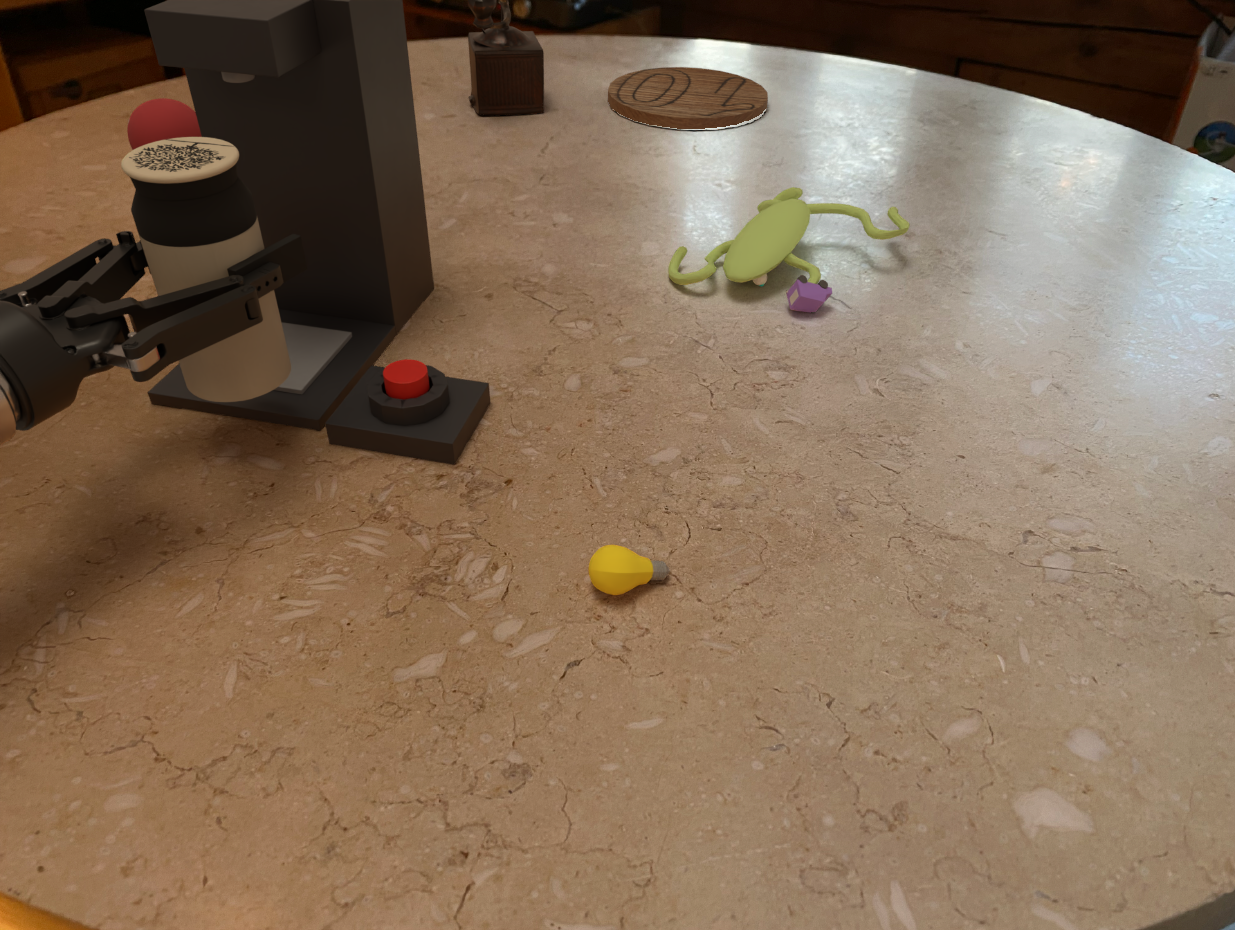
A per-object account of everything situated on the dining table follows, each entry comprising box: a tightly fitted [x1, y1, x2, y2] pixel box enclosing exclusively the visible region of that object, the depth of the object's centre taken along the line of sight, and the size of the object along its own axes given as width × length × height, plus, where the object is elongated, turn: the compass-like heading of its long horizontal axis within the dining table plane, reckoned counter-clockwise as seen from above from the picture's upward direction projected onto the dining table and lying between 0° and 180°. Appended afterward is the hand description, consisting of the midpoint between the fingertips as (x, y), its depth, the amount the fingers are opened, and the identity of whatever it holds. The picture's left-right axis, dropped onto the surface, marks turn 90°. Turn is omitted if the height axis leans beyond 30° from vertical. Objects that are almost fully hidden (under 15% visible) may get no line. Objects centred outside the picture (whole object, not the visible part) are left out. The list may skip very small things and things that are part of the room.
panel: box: [325, 364, 491, 466], centre depth 79 cm, size 11×9×4 cm
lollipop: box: [126, 97, 202, 151], centre depth 103 cm, size 8×8×15 cm
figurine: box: [667, 187, 911, 313], centre depth 103 cm, size 18×27×6 cm
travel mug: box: [120, 137, 291, 402], centre depth 69 cm, size 8×8×18 cm
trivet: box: [607, 66, 769, 129], centre depth 147 cm, size 25×25×2 cm
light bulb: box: [587, 544, 671, 596], centre depth 65 cm, size 3×6×4 cm, turn 106°
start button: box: [383, 358, 429, 400], centre depth 78 cm, size 4×4×2 cm
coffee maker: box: [144, 0, 435, 432], centre depth 81 cm, size 16×26×30 cm, turn 167°
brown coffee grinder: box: [466, 0, 545, 117], centre depth 138 cm, size 16×11×18 cm
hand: (257, 238), depth 72 cm, fingers closed on travel mug, 8 cm apart
